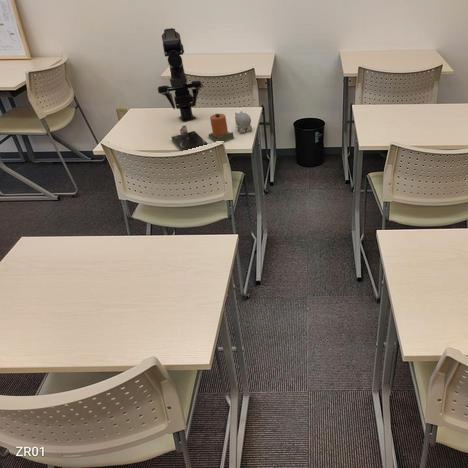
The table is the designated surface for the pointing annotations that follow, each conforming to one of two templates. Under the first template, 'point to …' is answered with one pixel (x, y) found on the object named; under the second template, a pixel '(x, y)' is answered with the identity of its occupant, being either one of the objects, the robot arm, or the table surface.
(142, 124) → the table surface
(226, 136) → the rack
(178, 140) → the hob
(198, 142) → the hob plate
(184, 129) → the grey and red block
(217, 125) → the pot
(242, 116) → the round bodied animal figurine
